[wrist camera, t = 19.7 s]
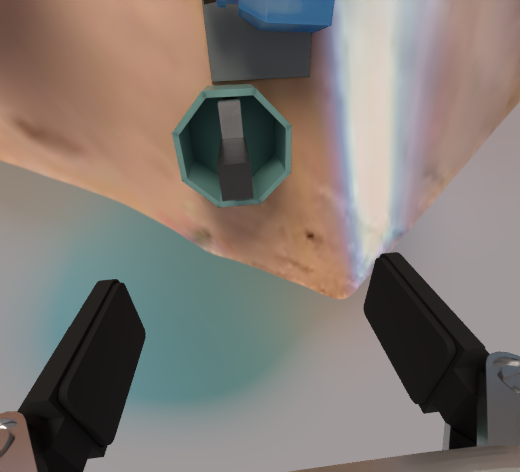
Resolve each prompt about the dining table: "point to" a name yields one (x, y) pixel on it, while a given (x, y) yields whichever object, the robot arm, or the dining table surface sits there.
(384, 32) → the dining table surface
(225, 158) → the brushed metal bar
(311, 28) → the perfume bottle
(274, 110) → the utensil pot
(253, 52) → the rubber mat
